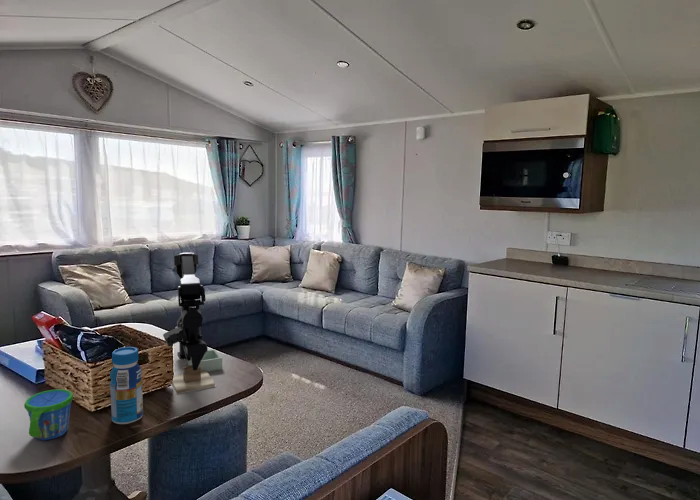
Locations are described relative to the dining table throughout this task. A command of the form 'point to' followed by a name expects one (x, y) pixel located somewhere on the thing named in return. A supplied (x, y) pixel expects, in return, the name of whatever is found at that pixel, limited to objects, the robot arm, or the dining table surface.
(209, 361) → the dish
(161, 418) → the dining table surface
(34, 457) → the dining table surface
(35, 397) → the snack cup
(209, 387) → the mat
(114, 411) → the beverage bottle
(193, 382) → the lid
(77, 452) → the dining table surface
